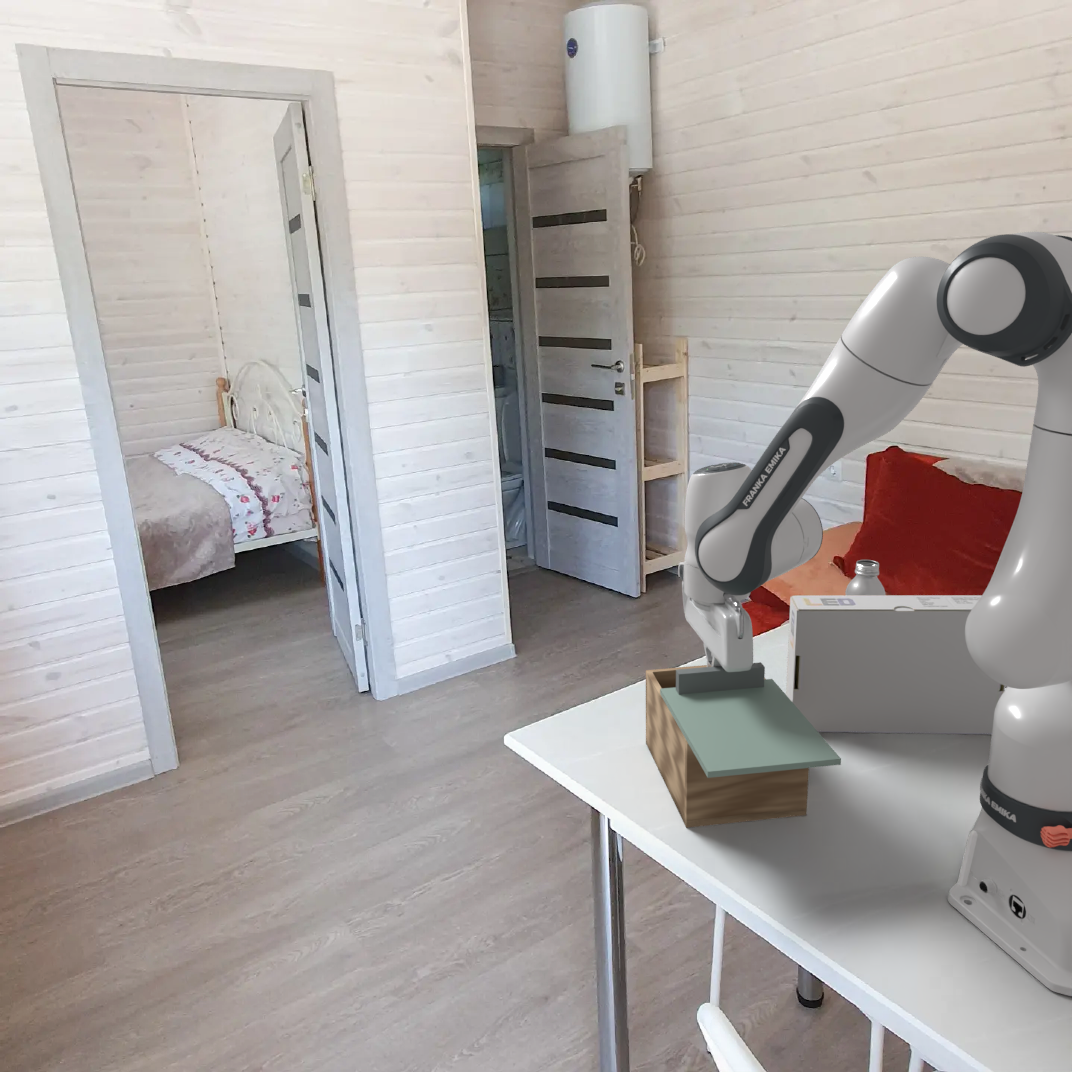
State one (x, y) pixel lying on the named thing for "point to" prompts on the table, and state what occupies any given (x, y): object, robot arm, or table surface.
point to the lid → (743, 723)
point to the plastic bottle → (865, 579)
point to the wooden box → (717, 795)
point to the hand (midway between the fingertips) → (715, 674)
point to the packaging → (887, 665)
